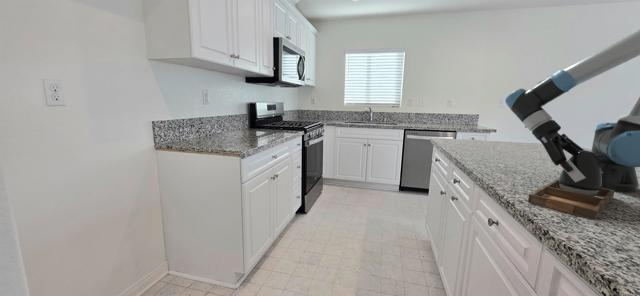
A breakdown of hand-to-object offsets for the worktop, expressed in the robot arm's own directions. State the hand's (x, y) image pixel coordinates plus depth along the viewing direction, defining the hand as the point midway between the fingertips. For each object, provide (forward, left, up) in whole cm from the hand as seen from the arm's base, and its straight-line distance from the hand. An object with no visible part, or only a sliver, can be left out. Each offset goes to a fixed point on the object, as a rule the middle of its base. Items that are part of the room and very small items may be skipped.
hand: (589, 177), depth 86 cm
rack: (+7, -2, -7) cm, 10 cm away
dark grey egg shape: (0, -2, -7) cm, 7 cm away
